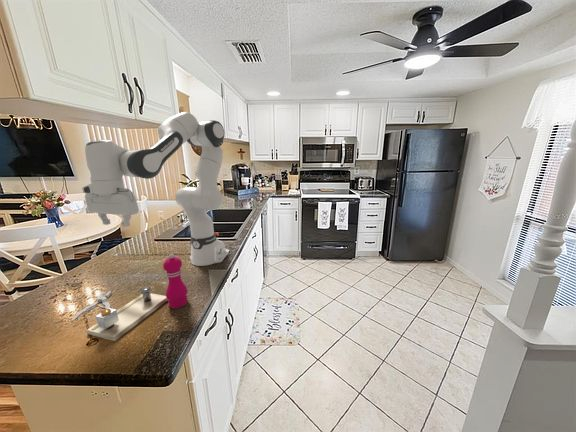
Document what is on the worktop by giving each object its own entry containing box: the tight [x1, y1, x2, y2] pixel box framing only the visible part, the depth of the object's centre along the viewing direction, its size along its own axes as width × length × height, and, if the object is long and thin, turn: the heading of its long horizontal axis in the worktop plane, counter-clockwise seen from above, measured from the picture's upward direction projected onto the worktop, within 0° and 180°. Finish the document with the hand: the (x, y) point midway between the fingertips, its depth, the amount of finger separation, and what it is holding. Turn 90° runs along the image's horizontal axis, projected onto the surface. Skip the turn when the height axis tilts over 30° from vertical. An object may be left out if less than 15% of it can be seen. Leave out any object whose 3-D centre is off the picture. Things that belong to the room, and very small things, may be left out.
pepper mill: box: [163, 253, 189, 309], centre depth 82 cm, size 7×7×20 cm
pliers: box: [71, 290, 112, 322], centre depth 84 cm, size 10×2×15 cm
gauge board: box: [86, 292, 169, 342], centre depth 78 cm, size 21×11×2 cm, turn 164°
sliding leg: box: [95, 307, 119, 329], centre depth 70 cm, size 4×3×5 cm
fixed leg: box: [140, 286, 152, 301], centre depth 83 cm, size 3×3×5 cm
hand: (116, 225), depth 83 cm, fingers open, 8 cm apart
